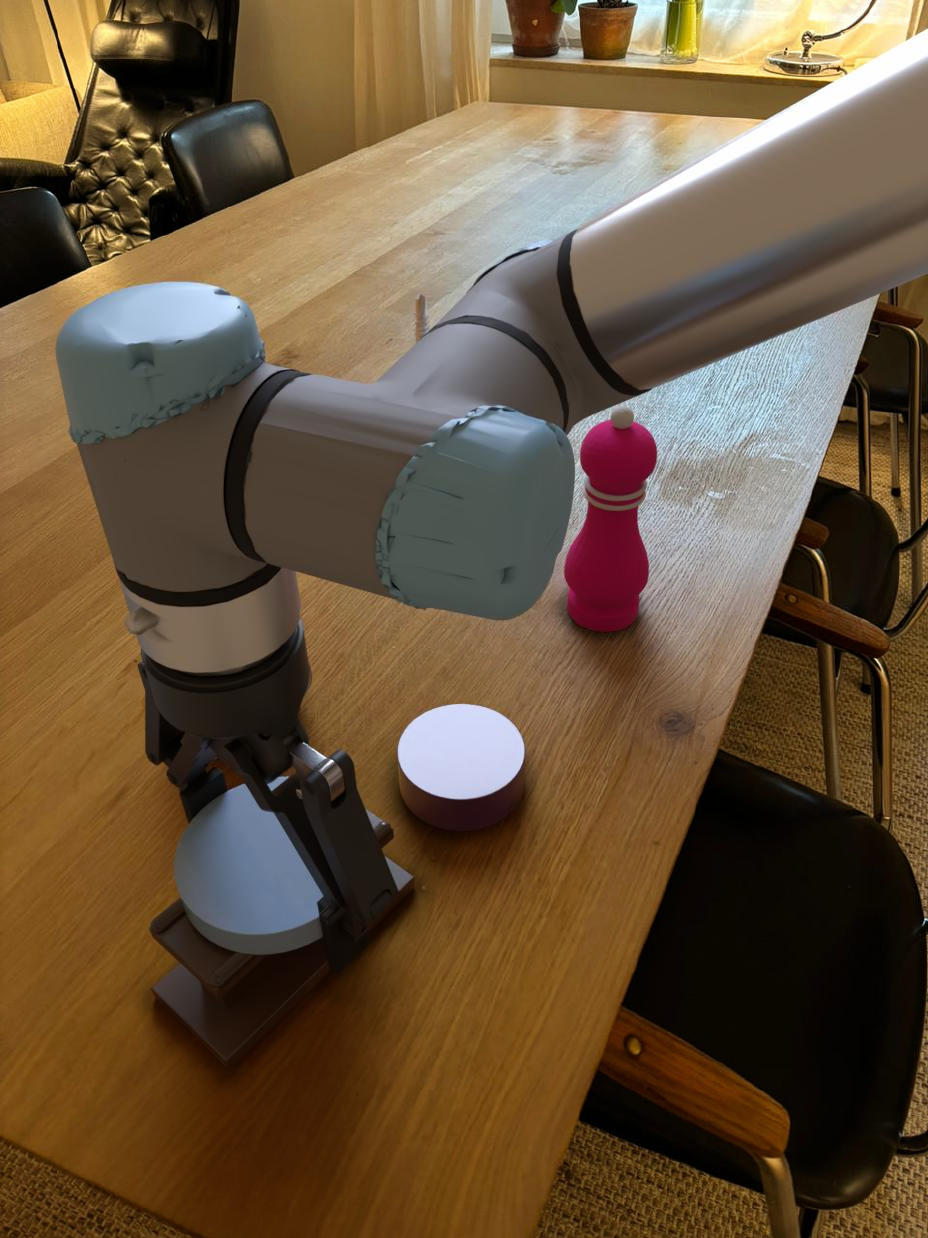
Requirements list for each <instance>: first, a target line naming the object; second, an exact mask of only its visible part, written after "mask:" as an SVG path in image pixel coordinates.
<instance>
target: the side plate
mask: <svg viewBox="0 0 928 1238" xmlns="http://www.w3.org/2000/svg"><path fill="white" fill-rule="evenodd" d="M289 777H290V776H279V777H278V778H277V779H276V780H274V781H273V782H271V783H269V784H267V785H268V786H269V788H270V790H271V791H272V790H274V789H275V788H276V787H277V786H279V785H280V784H281V783H282V782H284V781H285V780H286V779H287V778H289ZM173 879H174V882H175V886H176V890H177V892H178V895H179V898H180V899H181V902H182V905H183V908H184V910H185V912H186V914H187V917H188V918H189V920H190V921H191V923H192V924H193V926H194V927H195V928H196V929H197V930H198V931H199V932H200V933H201V934H202V935H203V936H205V937H206V938H207V939H208V940H210V941H211V942H213V943H215V944H217V945H219V946H221V947H223V948H226V949H229V950H231V951H236V952H240V953H245V954H255V955H263V954H276V953H283V952H287V951H291V950H294V949H298V948H300V947H303V946H305V945H308V944H310V943H312V942H314V941H316V940H318V939H320V938H321V937H323V933H322V927H321V922H320V917H319V911H318V906H317V902H318V901H319V900H320V899H321V898H322V897H323V894H322V893H321V891H320V889H319V888H318V886H317V884H316V883H315V881H314V879H313V878H312V876H311V874H310V873H309V871H308V869H307V868H306V866H305V864H304V863H303V861H302V859H301V858H300V856H299V854H298V853H297V851H296V849H295V848H294V846H293V844H292V843H291V841H290V839H289V838H288V836H287V834H286V833H285V831H284V829H283V828H282V826H281V824H280V823H279V821H278V819H277V818H276V816H275V814H274V813H273V812H267V811H263V810H261V809H260V808H259V806H258V804H257V803H256V801H255V799H254V798H253V796H252V794H251V793H250V791H249V789H248V788H247V786H246V784H245V783H242V784H240V785H238V786H236V787H233V788H231V789H228V791H227V792H225V793H223V794H222V795H220V796H218V797H217V798H215V799H214V800H213V801H211V802H210V803H209V804H207V805H206V806H205V807H204V808H203V809H202V810H201V811H200V812H199V813H198V814H197V815H196V816H195V817H194V818H193V819H192V821H191V822H190V823H189V824H188V825H187V826H186V827H185V829H184V831H183V833H182V835H181V836H180V839H179V841H178V844H177V847H176V850H175V854H174V860H173Z"/></svg>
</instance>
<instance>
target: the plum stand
mask: <svg viewBox="0 0 928 1238" xmlns="http://www.w3.org/2000/svg"><path fill="white" fill-rule="evenodd" d="M396 758H397V759H396V761H397V772H398V773H397V774H398V784H399V792H400V796H401V799H402V800H403V803H404V805H405V806H406V807H407V808H408V810H409V811H410V812H411V813H412V814H413V815H414V816H415V817H416V818H417V819H419V820H420V821H422V822H424V824H425V823H426V824H427V825H429V826H432V827H434V828H437V829H441V830H445V831H449V832H450V831H451V832H472V831H478V830H482V829H486V828H488V827H491V826H494V825H495V824H497V823H499V822H501V821H502V820H504V819H506V817H507V816H509V815H510V814H511V813H512V812H513V810H514V809H515V808H517V805H518V804H519V802H520V801H521V798H522V796H523V792H524V787H525V771H526V770H525V769H526V744H525V740H524V738H523V735H522V733H521V731H520V730H519V729H518V727H517V726H516V725H515V724H514V723H513V722H512V720H510V719H509V718H508V717H506V716H505V715H503V714H501V713H500V712H498V711H496V710H495V709H491V708H489V707H486V706H482V705H479V704H471V703H452V704H446V705H441V706H438V707H434V708H431V709H430V710H428V711H425V712H423V713H421V714H419V716H417V717H416V718H414V719H412V720H411V722H409V724H408V725H407V726H406V727H405V729H404V730H403V732H402V733H401V735H400V737H399V741H398V742H397V748H396Z"/></svg>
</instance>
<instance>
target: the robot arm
mask: <svg viewBox="0 0 928 1238" xmlns="http://www.w3.org/2000/svg"><path fill="white" fill-rule="evenodd" d="M927 274H928V28H926V29H925V30H923V31H921V32H919V33H917V34H915V35H914V36H912V37H910V38H909V39H907V40H905V41H903V42H902V43H900V44H897V45H896V46H895V47H893V48H891V49H889V50H887V51H886V52H883V53H882V54H880V55H879V56H876V57H875V58H873V59H871V60H870V61H868V62H866V63H864V64H863V65H860V66H859V67H857V68H856V69H854V70H852V71H851V72H848V73H847V74H845V75H842V76H841V77H840V78H838V79H836V80H834V81H833V82H831V83H829V84H827V85H825V86H824V87H821V88H820V89H818V90H817V91H815V92H813V93H811V94H809V95H807V96H806V97H804V98H803V99H801V100H799V101H797V102H796V103H794V104H792V105H790V106H789V107H786V108H784V109H783V110H782V111H779V112H778V113H776V114H774V115H772V116H771V117H769V118H767V119H765V120H763V121H761V122H760V123H758V124H757V125H755V126H753V127H751V128H750V129H748V130H746V131H744V132H742V133H740V134H739V135H737V136H735V137H734V138H732V139H730V140H729V141H727V142H725V143H723V144H721V145H719V146H717V147H716V148H714V149H713V150H711V151H709V152H707V153H706V154H704V155H701V156H700V157H698V158H697V159H694V160H693V161H691V162H690V163H687V164H686V165H684V166H682V167H681V168H679V169H677V170H676V171H674V172H672V173H669V174H668V175H666V176H665V177H662V178H661V179H660V180H657V181H655V182H654V183H652V184H651V185H649V186H647V187H645V188H644V189H642V190H640V191H638V192H637V193H635V194H632V195H631V196H629V197H628V198H626V199H623V200H622V201H620V202H618V203H617V204H615V205H613V206H612V207H610V208H608V209H607V210H605V211H603V212H602V213H599V214H597V215H595V216H594V217H592V218H590V219H588V220H587V221H585V222H583V223H582V224H580V225H579V227H578V228H576V229H574V230H572V231H570V232H568V233H565V234H564V235H562V236H560V237H557V238H556V239H545V240H538V241H532V242H531V243H528V244H525V245H523V246H521V247H519V248H518V249H515V251H513V252H511V253H509V254H508V255H506V256H504V257H503V258H501V259H500V260H498V261H497V262H496V263H494V264H493V265H492V266H490V267H488V268H486V269H485V270H484V271H483V272H482V273H481V274H479V276H478V277H477V278H476V279H475V282H474V283H473V284H472V285H471V287H470V288H469V289H468V290H467V291H466V293H465V294H464V295H463V296H462V297H461V298H460V299H459V300H458V301H457V303H455V304H454V305H453V306H452V307H451V308H450V310H448V311H447V312H446V313H445V314H444V315H443V317H441V318H440V319H439V320H438V321H437V322H436V323H435V324H434V325H433V326H432V327H430V328H429V331H428V332H427V333H426V334H425V335H424V336H423V337H422V338H421V339H420V340H419V341H418V342H417V343H416V342H415V343H416V344H415V343H414V344H415V345H414V344H413V345H412V346H411V348H410V349H408V350H407V351H406V352H405V353H404V354H403V355H402V356H401V357H399V359H398V360H396V362H394V363H393V365H392V366H390V367H389V368H388V369H387V370H386V371H385V372H384V373H383V374H382V375H381V376H380V377H379V378H378V379H377V380H376V381H375V382H372V383H370V382H369V383H362V382H358V381H353V380H348V379H342V378H337V377H331V376H327V375H322V374H316V373H309V372H304V371H300V370H298V369H294V368H289V367H284V366H279V365H274V364H271V363H268V362H266V356H267V355H266V349H265V345H266V342H265V341H264V340H263V339H262V338H261V337H260V332H259V329H258V324H257V320H256V316H255V314H254V312H253V310H252V309H251V307H250V306H249V305H248V303H247V302H246V301H244V300H242V299H241V298H240V297H238V296H235V295H231V293H230V292H229V291H228V290H226V289H224V288H223V287H220V286H217V285H212V284H208V283H203V282H196V281H162V282H161V281H160V282H151V283H144V284H137V285H133V286H128V287H124V288H121V289H118V290H115V291H111V292H109V293H106V294H103V295H101V296H99V297H97V298H95V299H94V300H93V301H91V302H89V303H88V304H85V305H84V306H83V307H79V308H78V309H76V310H75V311H74V312H73V313H72V314H71V315H70V316H69V317H68V318H67V319H66V321H64V323H63V325H62V327H61V328H60V330H59V332H58V333H57V337H56V341H55V348H54V349H55V359H56V364H57V368H58V369H57V370H58V373H59V378H60V383H61V387H62V388H61V389H62V393H63V397H64V403H65V408H66V412H67V416H68V421H69V427H68V433H69V436H70V438H71V440H72V442H73V443H75V444H76V446H77V447H76V448H77V450H78V453H79V456H80V460H81V463H82V466H83V468H84V472H85V475H86V478H87V481H88V485H89V488H90V491H91V494H92V497H93V500H94V504H95V507H96V510H97V513H98V516H99V520H100V523H101V527H102V529H103V532H104V536H105V539H106V542H107V546H108V548H109V551H110V554H111V558H112V561H113V565H114V568H115V572H116V574H117V576H118V579H119V582H120V586H121V590H122V593H123V596H124V600H125V603H126V606H127V610H128V613H129V614H128V615H127V616H126V617H125V620H124V624H125V627H126V629H127V630H128V632H129V634H132V635H135V636H136V639H137V642H138V645H139V647H140V656H141V660H142V661H140V662H138V663H137V669H138V672H139V673H138V674H139V676H140V679H141V682H142V686H143V688H144V752H145V754H146V758H147V760H148V761H149V762H150V763H151V764H152V765H154V766H157V767H158V766H160V765H161V764H164V765H165V766H166V767H167V770H166V772H165V773H166V777H167V779H168V781H169V783H170V784H172V785H173V786H175V788H178V790H179V797H180V801H181V804H182V807H183V811H184V813H185V817H186V821H187V823H188V825H189V823H190V822H191V821H192V819H193V818H194V817H195V816H196V815H197V814H198V813H199V812H200V811H201V810H202V809H203V808H204V807H205V806H206V805H207V804H209V803H210V802H211V801H213V800H214V799H215V798H217V797H218V796H220V795H222V794H223V793H225V792H227V791H229V789H228V786H227V781H226V777H225V773H224V771H223V770H221V769H220V768H218V767H217V766H216V765H214V766H213V767H212V768H210V769H209V770H208V771H207V768H208V767H209V766H210V765H211V764H212V763H214V762H215V761H217V760H220V761H221V762H222V763H224V765H226V766H228V767H229V769H230V770H231V771H232V772H233V773H235V774H238V775H239V777H240V778H241V780H242V781H243V784H246V786H247V788H248V789H249V791H250V793H251V794H252V796H253V798H254V799H255V801H256V803H257V804H258V806H259V808H260V809H261V810H263V811H267V812H273V813H274V814H275V816H276V818H277V819H278V821H279V823H280V824H281V826H282V828H283V829H284V831H285V833H286V834H287V836H288V838H289V839H290V841H291V843H292V844H293V846H294V848H295V849H296V851H297V853H298V854H299V856H300V858H301V859H302V861H303V863H304V864H305V866H306V868H307V869H308V871H309V873H310V874H311V876H312V878H313V879H314V881H315V883H316V884H317V886H318V888H319V889H320V891H321V893H322V894H323V897H322V898H321V899H320V900H319V901H318V902H317V906H318V911H319V917H320V922H321V927H322V933H323V938H324V944H325V949H326V954H327V960H328V965H329V968H330V969H331V970H330V971H332V972H334V973H335V974H336V975H338V976H339V975H340V974H341V973H342V972H343V971H344V970H345V969H346V968H347V967H348V966H349V965H350V964H351V963H352V962H353V961H354V960H356V958H357V957H358V956H359V955H360V954H361V953H363V951H364V950H365V949H366V948H367V947H368V946H369V945H370V944H371V943H372V939H371V931H370V930H369V928H370V927H371V926H372V925H373V921H374V920H375V919H376V918H377V917H378V916H379V915H380V914H381V913H382V912H383V911H384V910H385V909H386V908H387V907H388V906H389V905H390V904H391V903H392V902H393V901H394V900H395V899H396V898H397V897H398V896H399V891H398V888H397V886H396V883H395V881H394V878H393V876H392V873H391V871H390V868H389V866H388V864H387V861H386V859H385V856H386V855H385V854H384V851H383V848H382V849H381V846H380V844H379V841H378V839H377V836H376V834H375V832H374V829H373V827H372V824H371V822H370V819H369V817H368V814H367V812H366V809H367V808H366V807H365V805H364V802H363V800H362V797H361V794H360V792H359V790H358V785H357V778H356V777H357V776H356V769H355V764H354V761H353V759H352V757H351V756H350V755H349V754H348V753H347V752H346V751H345V750H343V749H341V748H340V749H337V750H335V751H334V752H333V753H332V754H331V755H329V756H328V757H326V756H325V755H323V754H321V753H320V752H319V751H318V750H316V749H314V748H313V747H312V746H311V745H310V738H309V734H308V733H307V731H306V729H305V727H304V725H303V723H302V720H301V718H300V715H299V714H300V710H301V706H302V704H303V701H304V697H305V696H306V694H305V692H306V690H307V687H308V683H309V677H310V668H309V663H310V660H309V654H308V649H307V642H306V636H305V629H304V623H303V620H302V616H301V613H302V600H301V595H300V590H299V589H300V588H299V584H298V583H299V582H298V577H297V573H299V574H304V575H307V576H311V577H314V578H317V579H321V580H324V581H328V582H332V583H335V584H339V585H341V586H346V587H349V588H353V589H356V590H360V591H364V592H366V593H370V594H374V595H378V596H381V597H385V598H388V599H390V600H391V599H392V600H395V601H396V602H397V603H402V604H403V605H404V606H407V607H413V608H415V609H416V610H423V611H425V610H427V609H433V610H441V611H446V612H451V613H456V614H461V615H466V616H472V617H476V618H482V619H486V620H487V619H488V620H493V621H509V620H513V619H516V618H518V617H520V616H522V615H524V614H525V613H527V612H528V611H529V610H530V609H532V608H533V606H535V604H536V603H537V602H538V601H539V599H540V598H541V597H542V595H543V594H544V592H545V590H546V589H547V587H548V585H549V583H550V581H551V579H552V577H553V574H554V570H555V566H556V562H557V559H558V556H559V554H560V553H561V551H562V549H563V546H564V543H565V540H566V536H567V532H568V529H569V523H570V519H571V514H572V508H573V503H574V495H575V481H576V463H575V461H576V460H575V455H574V454H575V453H574V448H573V445H572V444H571V441H570V438H569V437H568V435H569V434H570V432H571V431H572V430H573V428H574V427H575V426H576V425H578V423H580V422H582V421H584V420H585V419H587V418H589V417H591V416H593V415H596V414H599V413H600V412H601V413H602V412H603V411H605V410H607V409H610V408H613V407H615V406H618V405H620V404H623V403H624V402H627V401H630V400H631V399H632V400H633V399H634V398H637V397H638V396H639V397H640V396H641V395H644V394H647V393H648V392H650V391H652V390H653V389H655V388H657V387H660V386H662V385H666V384H667V383H669V382H672V381H674V380H677V379H679V378H681V377H684V376H687V375H689V374H691V373H693V372H696V371H698V370H700V369H703V368H705V367H708V366H710V365H713V364H715V363H717V362H719V361H722V360H725V359H728V358H729V357H732V356H734V355H737V354H739V353H741V352H744V351H746V350H748V349H751V348H753V347H756V346H758V345H761V344H763V343H765V342H767V341H770V340H772V339H775V338H778V337H779V336H780V337H781V336H782V335H784V334H786V333H789V332H792V331H794V330H796V329H799V328H801V327H803V326H806V325H808V324H811V323H813V322H815V321H818V320H820V319H823V318H825V317H828V316H830V315H832V314H835V313H838V312H839V311H841V310H845V309H847V308H849V307H851V306H854V305H856V304H859V303H861V302H864V301H866V300H869V299H871V298H873V297H875V296H877V295H880V294H883V293H885V292H888V291H890V290H892V289H894V288H898V287H899V286H902V285H904V284H906V283H909V282H911V281H914V280H916V279H918V278H921V277H923V276H925V275H927ZM304 695H305V696H304ZM291 768H293V769H295V771H294V773H292V774H291V775H289V776H288V777H289V778H287V779H286V780H285V781H284V782H282V783H281V784H280V785H279V786H277V787H276V788H275V789H274V790H272V791H271V790H270V788H269V786H268V785H267V784H269V783H271V782H273V781H274V780H276V779H277V778H278V777H282V775H283V774H285V773H286V772H287V771H288V770H290V769H291Z"/></svg>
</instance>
